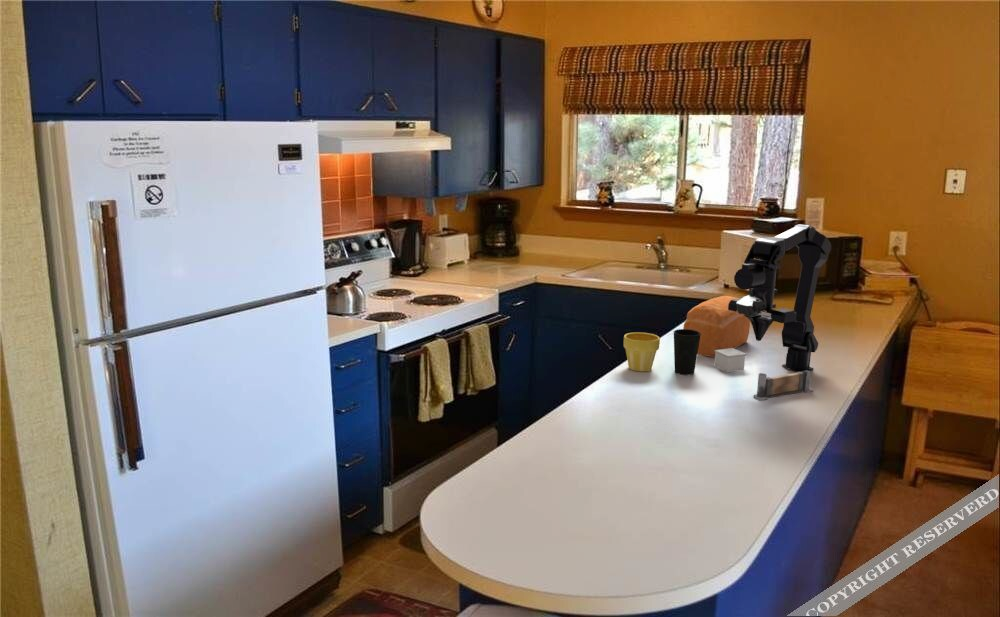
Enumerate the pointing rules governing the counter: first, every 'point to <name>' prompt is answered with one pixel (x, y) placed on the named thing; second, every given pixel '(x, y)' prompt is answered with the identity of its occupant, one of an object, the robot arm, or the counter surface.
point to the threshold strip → (785, 393)
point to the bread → (717, 325)
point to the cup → (685, 350)
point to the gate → (783, 383)
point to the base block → (729, 359)
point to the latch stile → (806, 382)
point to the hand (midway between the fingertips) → (758, 340)
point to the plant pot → (641, 350)
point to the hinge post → (761, 387)
